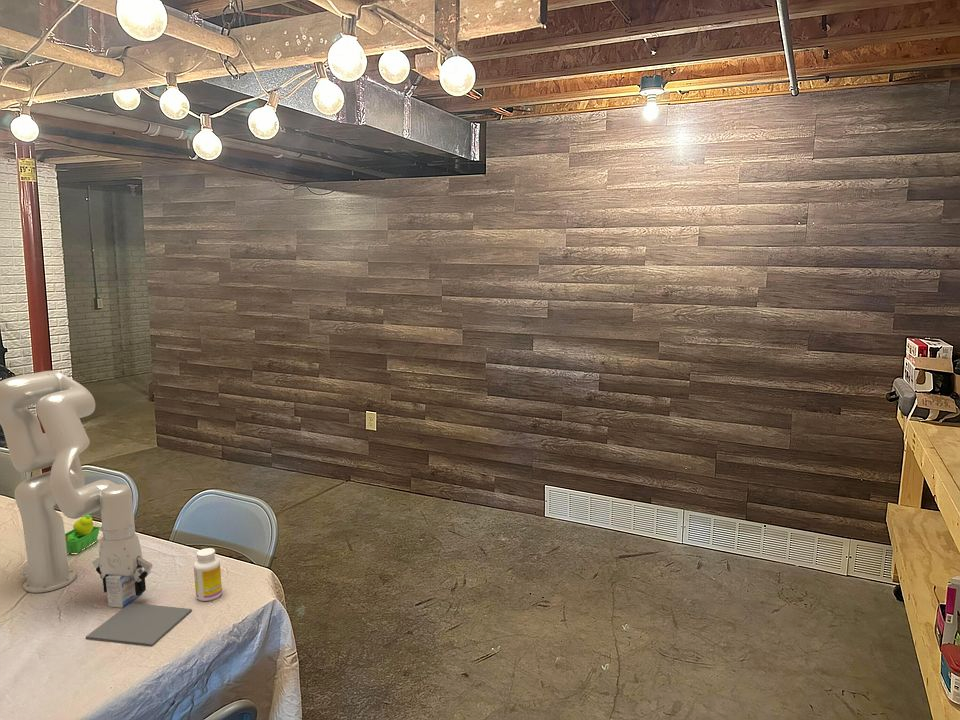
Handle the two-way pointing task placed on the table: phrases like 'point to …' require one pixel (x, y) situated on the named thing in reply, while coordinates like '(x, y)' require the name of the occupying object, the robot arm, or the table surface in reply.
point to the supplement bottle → (207, 575)
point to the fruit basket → (81, 534)
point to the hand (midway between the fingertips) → (125, 591)
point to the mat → (139, 624)
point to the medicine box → (120, 590)
